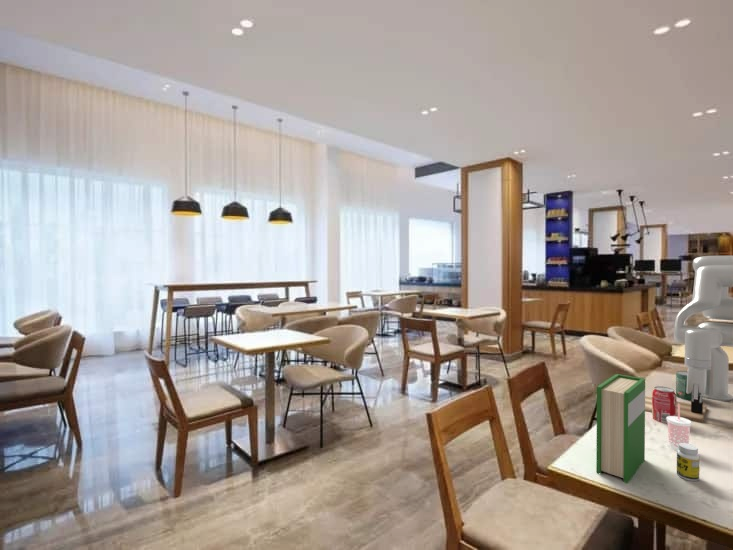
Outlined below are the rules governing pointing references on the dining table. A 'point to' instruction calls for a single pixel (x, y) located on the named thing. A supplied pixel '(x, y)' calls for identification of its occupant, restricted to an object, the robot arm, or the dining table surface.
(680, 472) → the supplement bottle
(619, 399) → the hardback book
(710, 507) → the dining table surface
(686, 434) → the beverage cup
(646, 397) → the flat tan panel
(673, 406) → the soda can
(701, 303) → the robot arm
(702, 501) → the dining table surface
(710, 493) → the dining table surface
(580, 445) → the dining table surface
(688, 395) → the canned tomato
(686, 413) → the plank
